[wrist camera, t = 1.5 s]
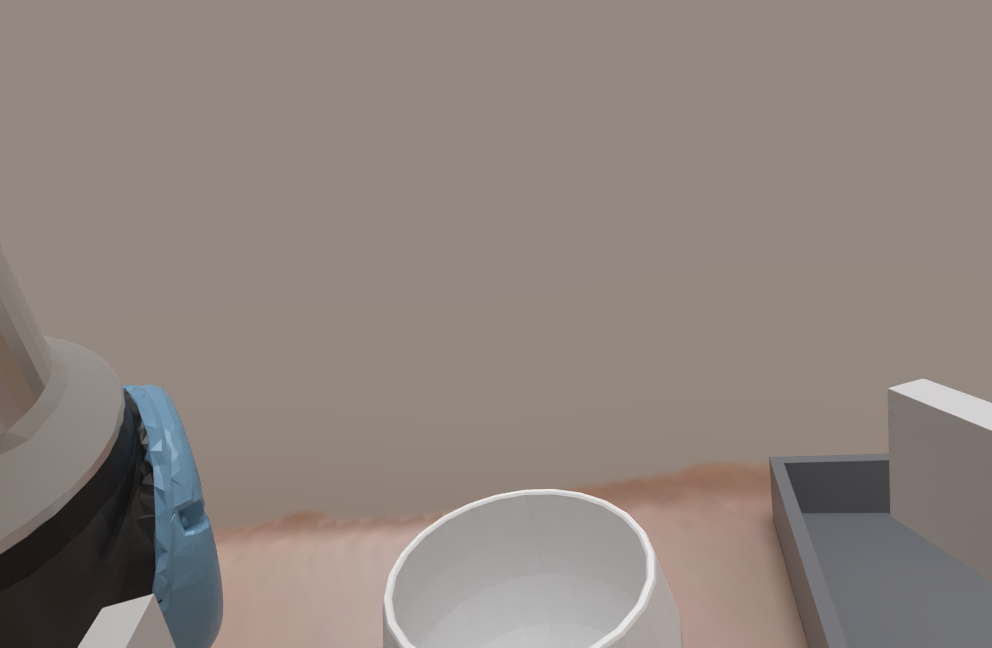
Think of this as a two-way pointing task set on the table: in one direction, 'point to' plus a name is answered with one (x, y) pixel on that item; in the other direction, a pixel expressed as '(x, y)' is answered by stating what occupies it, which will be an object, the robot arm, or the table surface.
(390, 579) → the white ceramic vase
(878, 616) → the bin
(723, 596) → the table surface
